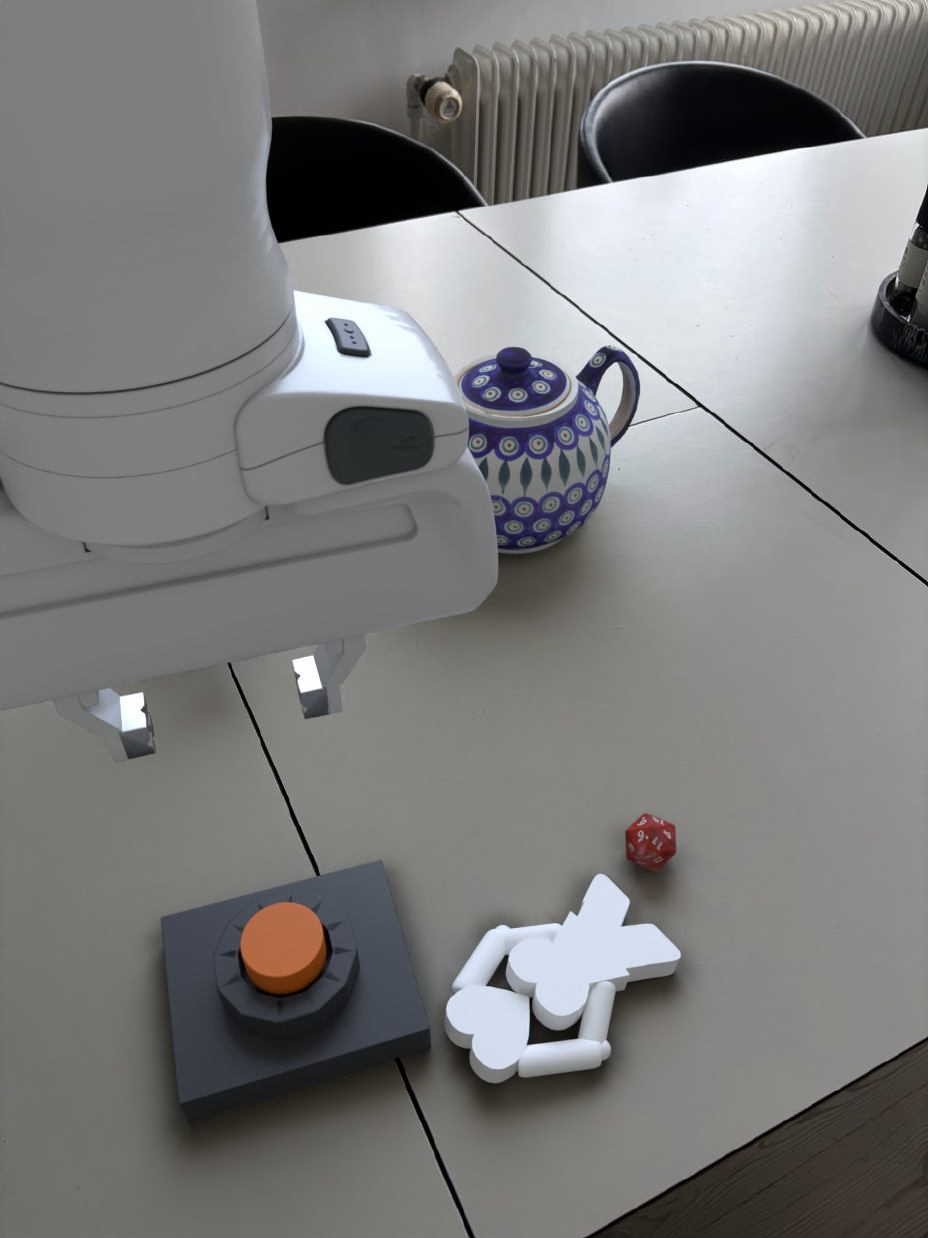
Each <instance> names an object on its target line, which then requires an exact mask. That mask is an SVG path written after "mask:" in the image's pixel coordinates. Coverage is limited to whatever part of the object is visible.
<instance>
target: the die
mask: <svg viewBox="0 0 928 1238" xmlns="http://www.w3.org/2000/svg"><path fill="white" fill-rule="evenodd" d="M676 833H677V832H676V824H674V823H671V822H669V821H667V820H665V819H662V818H659V817H657V816H654V815H652V814H650V813H647V812H644V813H642V815H640V817H638V818H637V819H636V820H635V821H634V822H632V823H631V825H630V826H628V827H627V829H625V831H624V836H625V837H624V838H625V854H626V855H625V856H626V860H627V861H628V862H631V863H633V864H635V865H637V866H640V867H643V868H645V869H647V870H650V871H652V872H656V873H658V872H660V871H661V870H662V868H664V867H665V865H667V863H669V861H671V859H672V858H673V857H674V856H675V855H676V854H677V836H676V835H677V834H676Z"/></svg>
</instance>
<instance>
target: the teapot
mask: <svg viewBox="0 0 928 1238" xmlns="http://www.w3.org/2000/svg"><path fill="white" fill-rule="evenodd" d="M615 363H617V364H618V367H619V369H620V371H621V376H622V391H621V398H620V402H619V405H618V406H617V409H616V411H615V413H614V415H613V417H612V419H611V421H610V422H608V418H607V415H606V412H605V411H604V408H603V406H602V405H601V403H600V401H599V400H598V398H597V393H598V390H599V386H600V384H601V381H602V379H603V376H604V375H605V373H606V372H607V370H608V369H609V368H610V367H611V366H612V365H614V364H615ZM639 375H640V374H639V371H638V370H637V368H636V366H635V365H634V362H633V361H632V359H631V356H629V355H628V354H627V353H626V352H625V351H623V350H622V349H621V348H619V347H617V346H614V345H604V346H602V347H600V348H599V349H598V350H597V351H596V352H595V353H594V354H593V356H592V357H590V359H589V360H588V361H587V362H586V364H584V367H583V368H582V369H581V370H580V371H579V373H578V374H576V375H575V374H574V373H573V371H572V370H570V369H569V368H568V367H567V366H565V365H564V364H562V363H560V362H558V361H556V360H554V359H552V358H549V357H545V356H542V355H538V354H533V353H530V352H529V351H528V349H526V348H523V347H521V346H520V347H519V346H508V347H504V348H502V349H501V350H499V351H498V352H497V353H496V354H491V355H486V356H483V357H479V358H477V359H474V360H472V361H470V362H469V363H466V364H465V365H464V366H462V367H461V368H460V369H459V370H458V371H457V372H456V373H455V375H453V377H454V379H455V381H456V383H457V385H458V388H459V390H460V393H461V396H462V398H463V401H464V404H465V407H466V411H467V414H468V420H469V437H468V444H467V446H468V448H469V450H470V452H471V454H472V456H473V458H474V460H475V462H476V464H477V465H478V467H479V469H480V471H481V473H482V475H483V477H484V479H485V481H486V483H487V486H488V489H489V492H490V497H491V501H492V506H493V513H494V519H495V526H496V535H497V547H498V554H499V553H501V554H511V555H512V554H514V555H521V554H530V553H535V552H539V551H543V550H545V549H549V548H550V547H552V546H554V545H555V544H557V543H558V542H560V541H562V539H564V538H565V537H567V536H569V535H571V534H572V533H574V532H575V531H577V530H579V528H581V527H582V526H583V525H584V524H586V522H588V520H589V519H590V518H591V517H592V515H593V514H594V513H595V511H596V509H597V508H598V506H599V505H600V503H601V501H602V498H603V496H604V493H605V490H606V487H607V483H608V478H609V473H610V466H611V456H612V448H613V447H614V446H616V444H617V443H619V441H620V440H621V439H622V438H623V436H625V434H626V433H627V432H628V430H629V428H630V427H631V424H632V423H633V421H634V417H635V415H636V414H637V413H636V412H637V410H638V406H639V400H640V395H641V381H640V380H641V379H640V377H639Z"/></svg>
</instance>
